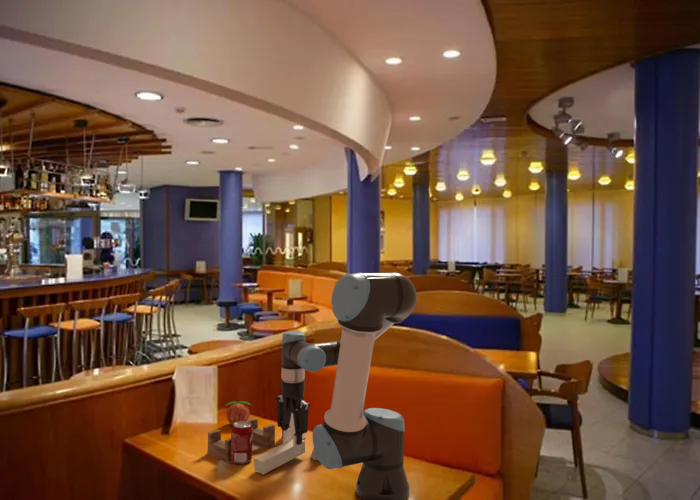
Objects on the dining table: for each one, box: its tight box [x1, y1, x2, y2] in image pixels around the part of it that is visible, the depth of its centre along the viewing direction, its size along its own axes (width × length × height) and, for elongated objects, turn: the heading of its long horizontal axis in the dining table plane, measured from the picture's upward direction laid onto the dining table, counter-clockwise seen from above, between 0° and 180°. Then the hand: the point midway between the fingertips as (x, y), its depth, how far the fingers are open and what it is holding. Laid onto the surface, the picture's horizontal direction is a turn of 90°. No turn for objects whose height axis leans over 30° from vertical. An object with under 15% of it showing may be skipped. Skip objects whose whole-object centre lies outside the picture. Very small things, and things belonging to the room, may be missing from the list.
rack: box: [206, 417, 276, 464], centre depth 187 cm, size 20×11×7 cm, turn 140°
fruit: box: [224, 398, 252, 427], centre depth 211 cm, size 9×10×10 cm
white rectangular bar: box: [253, 439, 306, 475], centre depth 175 cm, size 18×4×4 cm, turn 140°
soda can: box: [230, 420, 253, 465], centre depth 177 cm, size 7×7×12 cm
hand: (291, 451), depth 179 cm, fingers closed on white rectangular bar, 4 cm apart
